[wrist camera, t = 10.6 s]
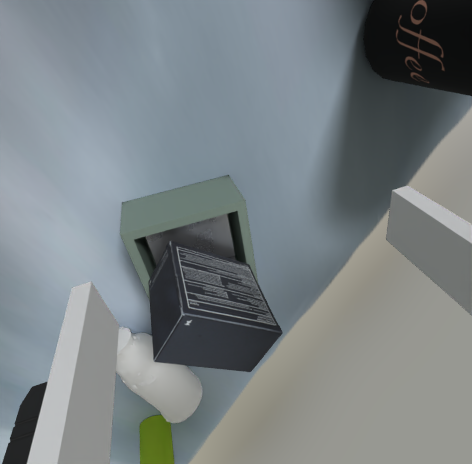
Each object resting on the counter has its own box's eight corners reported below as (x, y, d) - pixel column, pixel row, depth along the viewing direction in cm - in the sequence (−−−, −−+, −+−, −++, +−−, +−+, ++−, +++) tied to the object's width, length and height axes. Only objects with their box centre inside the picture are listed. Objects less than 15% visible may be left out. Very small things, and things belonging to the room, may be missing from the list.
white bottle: (144, 303, 46) (146, 348, 39) (198, 366, 57) (207, 409, 50) (94, 328, 46) (88, 377, 39) (158, 386, 57) (162, 432, 50)
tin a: (216, 191, 38) (226, 210, 34) (225, 233, 42) (235, 255, 38) (142, 210, 37) (144, 233, 33) (158, 252, 41) (161, 277, 37)
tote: (228, 174, 38) (245, 200, 33) (245, 271, 48) (261, 304, 42) (122, 202, 37) (120, 234, 31) (161, 297, 46) (165, 335, 40)
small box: (145, 284, 35) (148, 366, 27) (168, 238, 33) (181, 311, 24) (225, 302, 40) (251, 376, 31) (251, 263, 38) (286, 331, 29)
